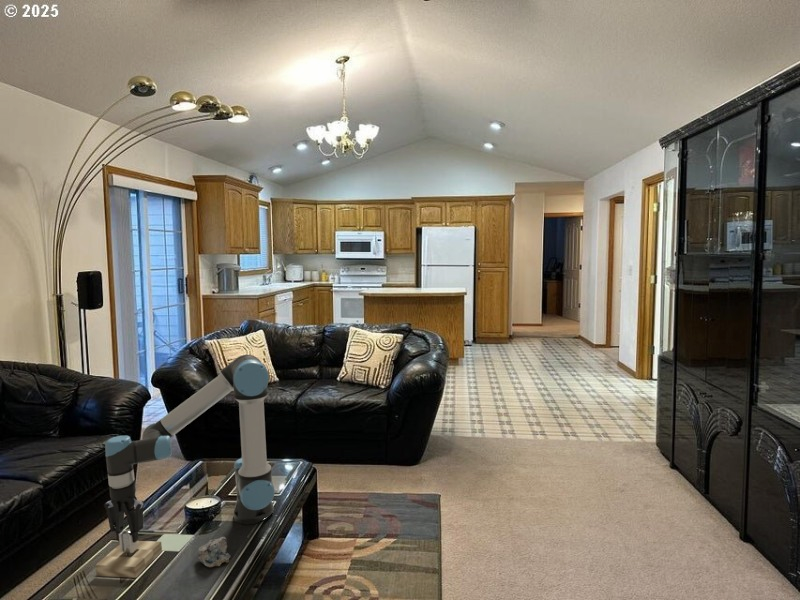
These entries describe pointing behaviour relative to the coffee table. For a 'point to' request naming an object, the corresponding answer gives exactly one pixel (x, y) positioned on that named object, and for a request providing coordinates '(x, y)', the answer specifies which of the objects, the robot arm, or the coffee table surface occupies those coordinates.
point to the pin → (127, 544)
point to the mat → (173, 541)
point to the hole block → (128, 560)
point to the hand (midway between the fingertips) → (129, 550)
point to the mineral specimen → (214, 552)
